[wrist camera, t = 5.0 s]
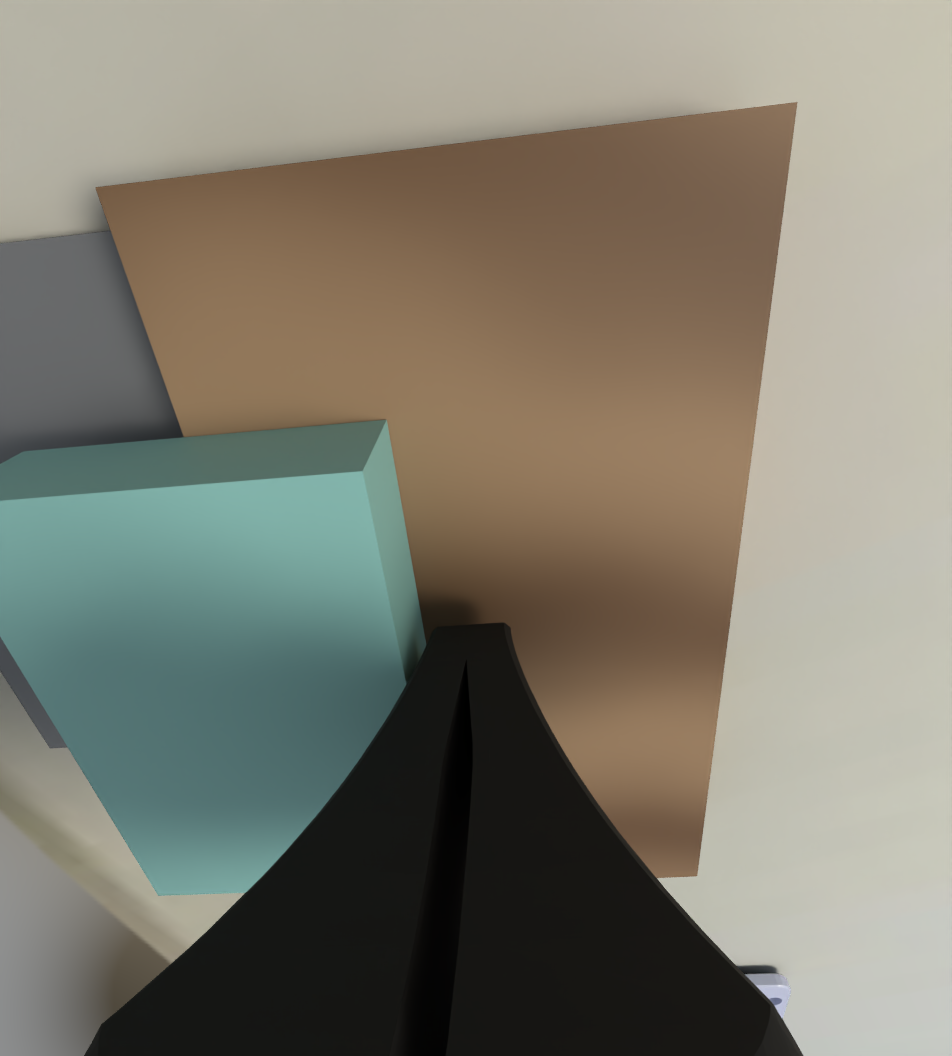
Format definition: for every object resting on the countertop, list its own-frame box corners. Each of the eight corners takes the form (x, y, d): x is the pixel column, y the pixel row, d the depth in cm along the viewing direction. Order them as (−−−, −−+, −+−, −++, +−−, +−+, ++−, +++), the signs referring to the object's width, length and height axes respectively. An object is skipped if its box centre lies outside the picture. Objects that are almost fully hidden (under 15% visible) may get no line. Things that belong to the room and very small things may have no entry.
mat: (312, 720, 15) (308, 733, 14) (59, 735, 15) (49, 748, 15) (153, 225, 10) (140, 227, 9) (-228, 270, 10) (-253, 272, 10)
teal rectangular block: (453, 797, 14) (447, 885, 12) (199, 808, 14) (158, 895, 12) (386, 419, 9) (363, 471, 8) (23, 451, 10) (-79, 507, 8)
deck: (679, 818, 16) (697, 876, 15) (356, 833, 17) (345, 890, 16) (747, 117, 9) (797, 102, 7) (154, 188, 9) (95, 186, 8)
